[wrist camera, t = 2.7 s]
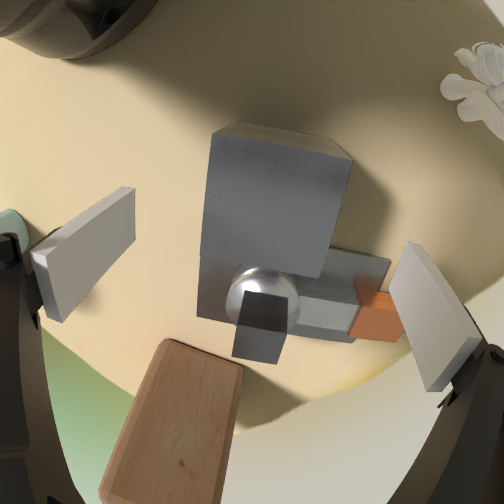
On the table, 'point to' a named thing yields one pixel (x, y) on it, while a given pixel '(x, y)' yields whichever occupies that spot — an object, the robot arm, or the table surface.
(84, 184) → the table surface
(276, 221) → the grey metal cube
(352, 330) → the lever
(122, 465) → the wooden block
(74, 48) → the robot arm
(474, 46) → the hat wearing toy figure
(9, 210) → the cup
